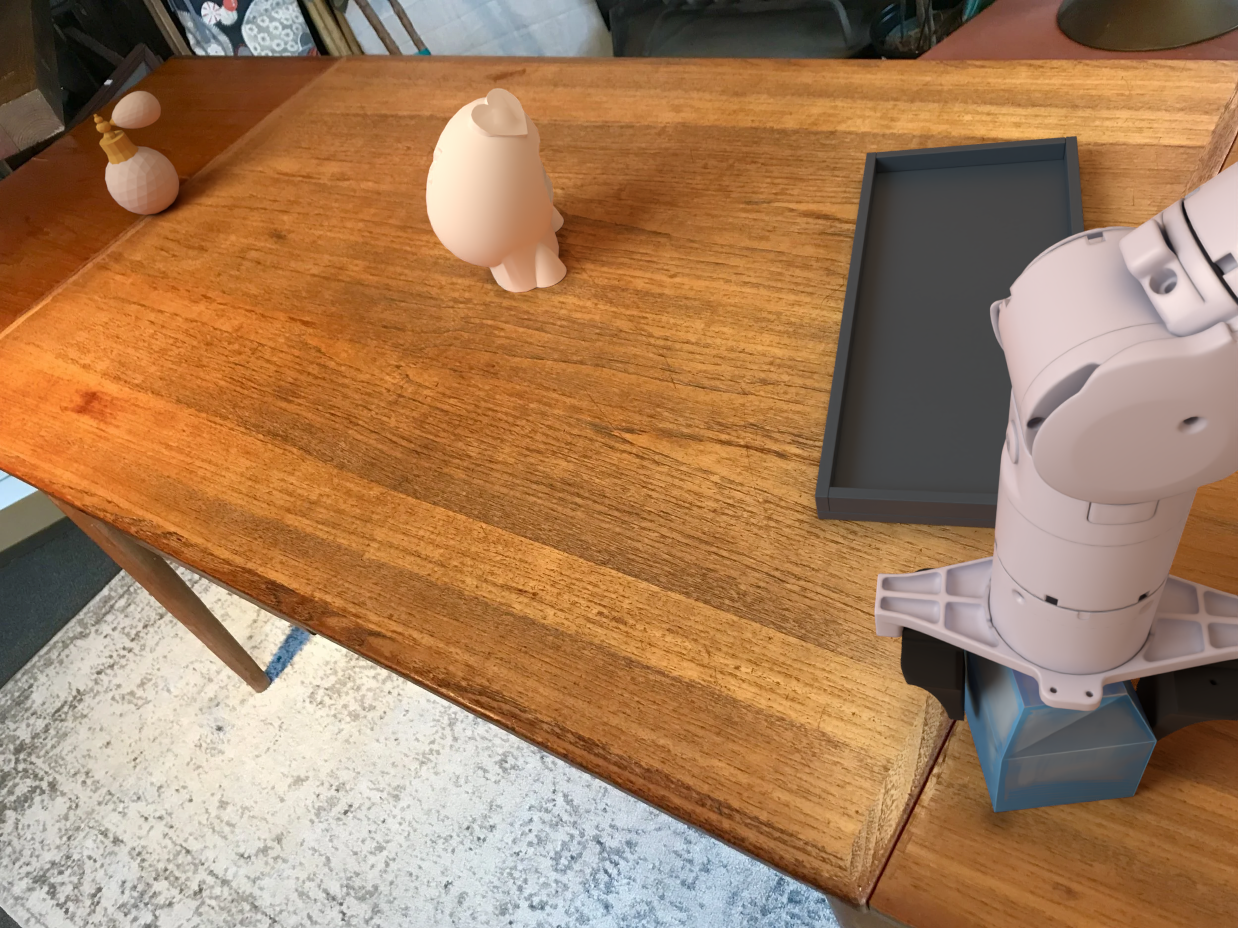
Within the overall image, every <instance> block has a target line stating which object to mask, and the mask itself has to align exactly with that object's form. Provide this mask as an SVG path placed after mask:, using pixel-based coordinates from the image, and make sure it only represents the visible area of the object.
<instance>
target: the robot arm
mask: <svg viewBox="0 0 1238 928" xmlns="http://www.w3.org/2000/svg"><path fill="white" fill-rule="evenodd" d="M1010 292H1011V296H1010V297H1008V298H1006V299H1003V300H999V301H996V302H994V303H993V304H992V305H991V308H990V315H991V321H992V326H993V329H994V333H995V335H996V338H997V340H998V342H999V344H1000V346H1001V347H1002V349H1003V350H1004V353H1005V358H1006V362H1007V366H1008V370H1009V375H1010V379H1011V383H1012V389H1011V400H1010V411H1009V422H1008V427H1007V431H1006V440H1005V443H1004V446H1003V450H1002V456H1001V466H1000V478H999V489H998V501H997V513H996V525H995V528H994V543H993V555H990V556H986V557H981V558H977V559H972V560H967V561H964V562H958V563H953V564H948V565H945V566H939V567H924V568H923V567H922V568H920V569H919V568H918V569H917V570H915V571H914V572H906V573H883V572H879V573H878V574H877V578H876V579H877V580H876V582H877V583H876V592H875V603H874V611H873V612H874V622H875V635H876V636H877V637H883V638H884V637H885V638H896V639H897V638H901V644H900V645H901V649H900V661H899V663H900V669H901V673H902V676H903V679H904V680H905V682H906V684H907V685H909V686H914V687H918V688H920V689H923V691H926V692H928V693H929V694H930V695H932V696H933V697H934V698H935V699H936V700H937V701H938V702H939V704H940V705H941V706H942V708H943V709H944V711H945V713H946V714H947V718H949V719H950V720H951V721H952V720H953V721H962V722H964V721H965V714H966V713H965V677H966V665H965V655H964V649H965V650H967V651H970V652H972V653H975V654H977V655H980V656H982V657H985V658H987V659H990V660H992V661H994V662H997V663H999V664H1002V665H1004V666H1007V667H1009V668H1012V669H1014V670H1017V671H1019V672H1022V673H1024V674H1027V675H1029V676H1032V677H1033V678H1035V679H1036V680H1037V682H1038V684H1039V695H1040V698H1041V700H1042V701H1043V702H1044V703H1045V704H1046V705H1048V706H1051V707H1054V708H1063V709H1072V710H1081V711H1092V710H1095V709H1096V708H1098V707H1099V706H1100V702H1101V699H1102V695H1103V686H1104V685H1106V684H1110V683H1115V682H1120V681H1125V680H1135V679H1138V681H1137V683H1136V688H1135V691H1136V694H1137V696H1138V698H1139V701H1140V703H1141V705H1142V708H1143V710H1144V712H1145V715H1146V717H1147V719H1148V722H1149V724H1150V726H1151V729H1152V731H1153V733H1154V736H1155V738H1156V740H1157V742H1159V741H1161V740H1162V739H1164V738H1166V737H1168V736H1169V735H1171V734H1173V733H1175V732H1177V731H1179V730H1181V729H1183V728H1187V727H1188V726H1192V725H1195V724H1200V723H1205V722H1211V721H1238V594H1234V593H1230V592H1227V591H1222V590H1220V589H1218V588H1217V589H1216V588H1213V587H1211V586H1208V585H1205V584H1202V583H1198V582H1195V581H1192V580H1188V579H1186V578H1183V577H1179V576H1176V575H1173V574H1170V572H1171V568H1172V565H1173V562H1174V559H1175V556H1176V554H1177V550H1178V548H1179V545H1180V542H1181V539H1182V536H1183V533H1184V530H1185V527H1186V525H1187V521H1188V518H1189V515H1190V513H1191V509H1192V506H1193V503H1194V500H1195V498H1196V494H1197V491H1198V489H1199V488H1200V487H1203V486H1206V485H1210V484H1213V483H1216V482H1219V481H1222V480H1225V479H1227V478H1229V477H1231V476H1232V475H1233V474H1235V473H1236V472H1237V471H1238V160H1237V161H1235V162H1234V163H1233V164H1231V165H1229V166H1227V168H1225V169H1224V170H1222V171H1220V172H1219V173H1218V174H1216V175H1215V176H1213V177H1211V178H1210V179H1209V180H1207V181H1205V182H1204V183H1203V184H1201V185H1200V186H1198V187H1196V188H1195V189H1193V190H1192V191H1190V192H1189V193H1187V194H1186V195H1184V197H1180V198H1179V199H1177V200H1176V201H1175V202H1173V203H1172V204H1170V205H1168V206H1167V207H1166V208H1164V209H1163V210H1161V211H1159V212H1158V213H1157V214H1156V215H1154V216H1152V217H1150V218H1149V219H1147V220H1146V221H1145V222H1143V223H1142V224H1139V226H1137V227H1135V226H1124V225H1117V226H1116V225H1115V226H1106V227H1097V228H1092V229H1088V230H1084V232H1081V233H1078V234H1075V235H1073V236H1070V237H1068V238H1066V239H1064V240H1062V241H1060V242H1058V243H1056V244H1054V245H1053V246H1051V247H1049V248H1048V249H1046V250H1045V251H1044V252H1042V253H1041V254H1040V255H1039V256H1037V257H1036V258H1035V259H1034V260H1033V261H1032V262H1031V263H1030V264H1029V265H1028V266H1027V267H1026V269H1025V270H1024V271H1023V273H1022V274H1021V275H1020V276H1019V277H1018V278H1017V279H1016V281H1015V282H1014V283H1013V285H1012V286H1011V287H1010Z"/></svg>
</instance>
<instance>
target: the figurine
mask: <svg viewBox="0 0 1238 928" xmlns="http://www.w3.org/2000/svg"><path fill="white" fill-rule="evenodd" d="M539 131H540V130H539V129H538V127H537V125H536V124H535V123H534V121H533V120H532V118H531V117H530V115H528V113H526V111H525V110H524V108H523V106H522V103H521V101H520V100H519V99H518V98H517V97H516V96H515V95H514V94H513V93H511V92H510V91H508V90H507V89H504V88H501V87H496V88H492V89H491V90H489V91H488V92H487V94H486V96H483V97H479V98H477V99H475V100H473V101H471V102H469V103H467V104H465V105H464V106H462V107H461V108H460V109H459V110H458V111H457V112H456V113H455V114H454V115H453V116H452V117H451V118H450V119H449V121H448V122H447V124H446V125H445V127H444V128H443V130H442V132H441V133H440V136H439V138H438V140H437V143H436V145H435V148H434V151H433V156H432V159H433V160H432V162H431V165H430V167H429V170H428V174H427V179H426V189H425V190H426V192H425V201H426V212H427V217H428V219H429V223H430V225H431V228H432V230H433V233H435V235H436V237H437V238H438V240H439V242H441V244H442V246H444V247H445V248H446V249H447V250H448V251H449V252H450V253H452V254H453V255H454V256H455V257H456V258H458V259H459V260H462V261H464V262H466V263H468V264H471V265H473V266H479V267H481V268H482V267H484V268H489V269H490V272H491V275H492V276H493V278H494V280H495V281H496V283H497V285H498V286H500V287H501V288H502V289H504V290H505V291H508V292H512V293H524V292H525V293H527V292H529V291H531V290H533V289H535V288H539V289H540V288H541V289H542V288H549V287H551V286H552V287H553V286H555V285H556V284H558V283H560V282H561V281H562V280H563V279H564V278H565V277H566V274H567V267H566V265H565V264H564V263H563V261H562V260H561V259H560V258H559V251H560V246H559V242H558V237H557V235H556V232H558V231H559V230H560V229H561V228H562V227H563V226H564V223H565V222H564V221H565V220H564V217H563V216H562V214H560V212H559V210H558V209H557V208H556V207H555V206H554V196H555V192H554V187H553V186H554V185H553V181H552V180H551V177H550V176H549V174H547V171H546V168H545V165H544V163H543V161H542V158H541V156H540V144H541V143H542V141H541V137H540V133H539Z"/></svg>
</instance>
